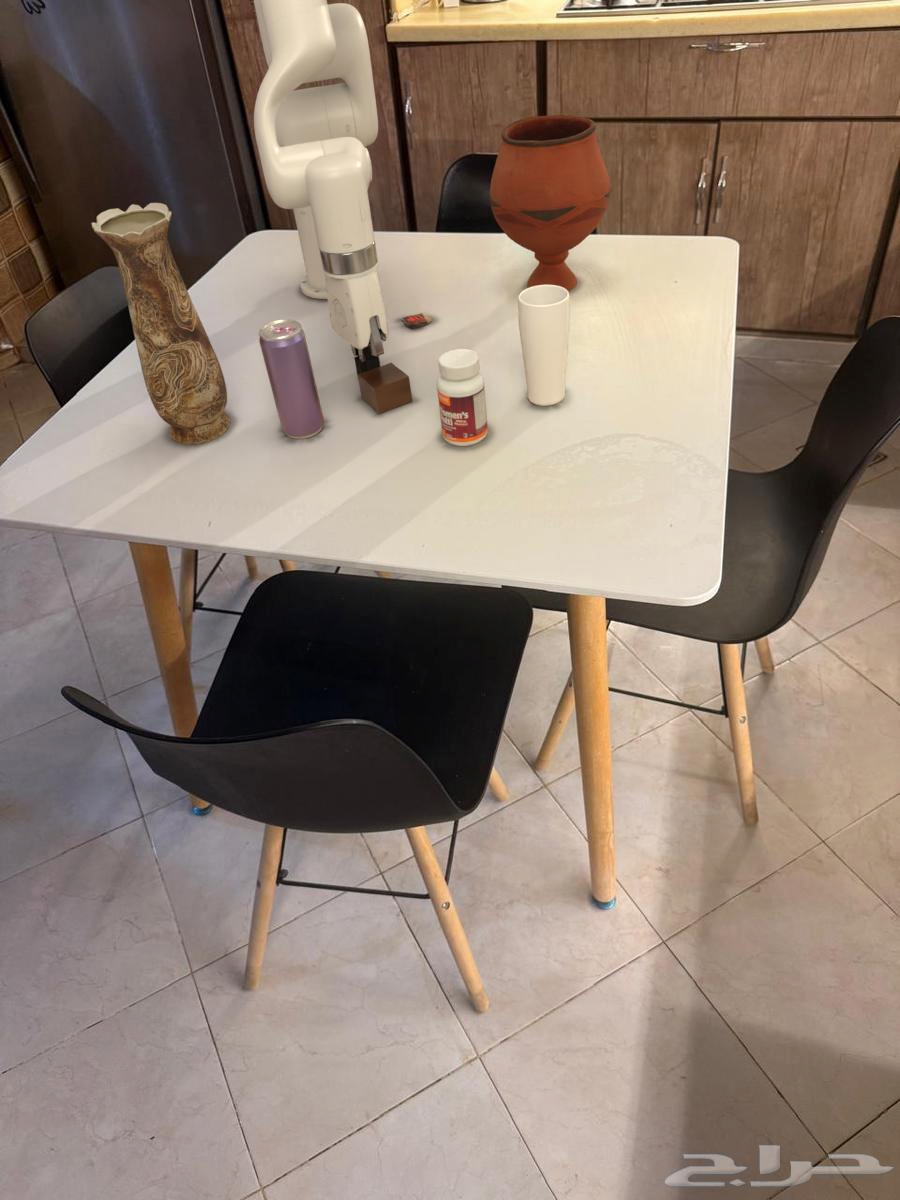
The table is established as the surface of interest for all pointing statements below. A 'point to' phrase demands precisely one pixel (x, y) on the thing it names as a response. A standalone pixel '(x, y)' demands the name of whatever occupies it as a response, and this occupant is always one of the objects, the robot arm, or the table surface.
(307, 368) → the beverage can
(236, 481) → the table surface
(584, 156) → the goblet
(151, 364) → the vase
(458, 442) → the pill bottle
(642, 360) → the table surface
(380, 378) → the walnut block
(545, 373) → the drinking glass
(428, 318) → the painted wall fragment
